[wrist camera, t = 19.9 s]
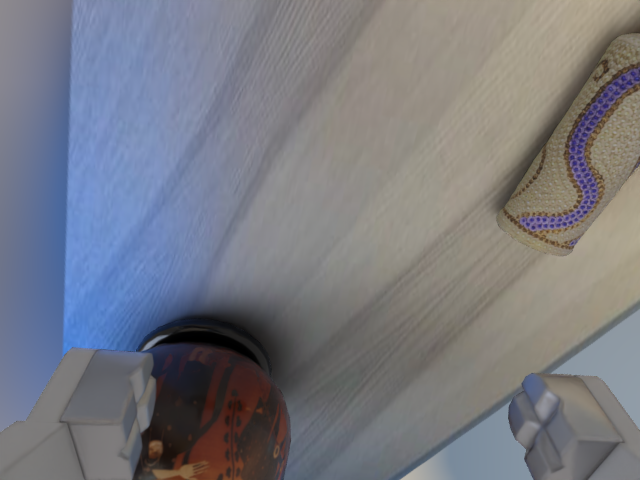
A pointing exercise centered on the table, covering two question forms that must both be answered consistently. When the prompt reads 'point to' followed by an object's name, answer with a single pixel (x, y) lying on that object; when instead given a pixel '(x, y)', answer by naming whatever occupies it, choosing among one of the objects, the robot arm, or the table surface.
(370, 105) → the table surface
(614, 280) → the table surface
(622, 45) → the decorative bottle
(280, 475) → the amphora vase
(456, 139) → the table surface
